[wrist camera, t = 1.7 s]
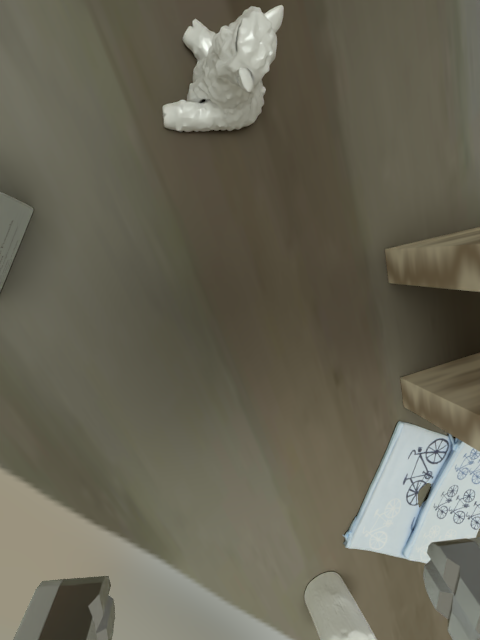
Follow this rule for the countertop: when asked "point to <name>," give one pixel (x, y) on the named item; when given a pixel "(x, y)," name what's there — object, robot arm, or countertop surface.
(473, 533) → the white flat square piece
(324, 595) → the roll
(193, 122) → the white creature statuette
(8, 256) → the supplement box
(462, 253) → the birch shelf
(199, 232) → the countertop surface
